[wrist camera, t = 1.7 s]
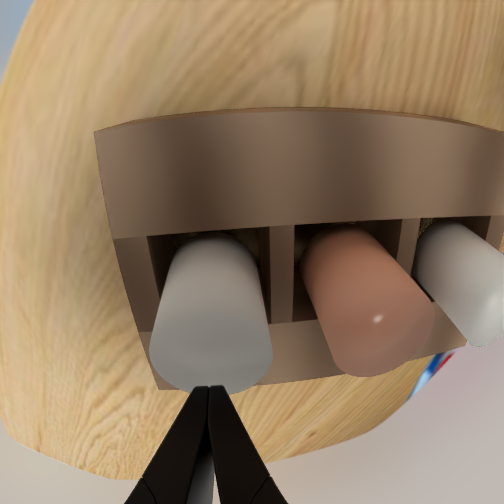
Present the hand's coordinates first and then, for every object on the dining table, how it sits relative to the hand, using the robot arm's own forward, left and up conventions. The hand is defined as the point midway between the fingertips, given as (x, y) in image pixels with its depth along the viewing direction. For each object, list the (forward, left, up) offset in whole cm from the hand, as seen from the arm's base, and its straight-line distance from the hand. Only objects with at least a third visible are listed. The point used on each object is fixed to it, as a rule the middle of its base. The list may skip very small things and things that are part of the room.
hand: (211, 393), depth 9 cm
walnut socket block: (-6, 0, -12) cm, 13 cm away
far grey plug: (-12, 0, -7) cm, 14 cm away
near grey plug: (0, 0, -7) cm, 7 cm away
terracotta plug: (-6, 0, -7) cm, 9 cm away
